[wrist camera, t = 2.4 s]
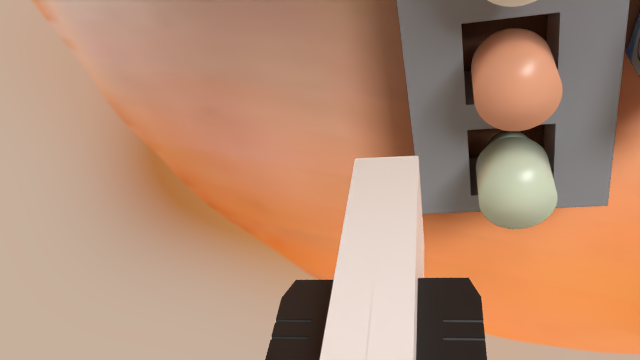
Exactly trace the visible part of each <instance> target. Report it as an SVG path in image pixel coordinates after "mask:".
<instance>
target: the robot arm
mask: <svg viewBox="0 0 640 360" xmlns="http://www.w3.org/2000/svg"><path fill="white" fill-rule="evenodd" d="M265 360H487V356H486V345H485V334H484V324H483V312H482V302H481V296H480V295H479V293H478V292H477V290H476V289H475V287H474V286H473V284H472V282H471V281H470V279H469V278H424V232H423V217H422V202H421V187H420V172H419V157H418V156H398V157H376V158H355V162H354V168H353V174H352V179H351V185H350V191H349V196H348V202H347V208H346V213H345V219H344V225H343V230H342V236H341V242H340V247H339V253H338V259H337V264H336V270H335V276H334V280H296V281H295V282H294V283H293V284H292V286H291V287H290V288H289V290H288V291H287V292H286V293H285V294H284V296H283V297H282V299H281V302H280V306H279V310H278V314H277V318H276V323H275V325H274V329H273V333H272V340H270V344H269V348H268V352H267V355H266V359H265Z"/></svg>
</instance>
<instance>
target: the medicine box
mask: <svg viewBox="0 0 640 360" xmlns="http://www.w3.org/2000/svg"><path fill="white" fill-rule="evenodd" d="M626 54H627V56H628V58H629V60H630V61H631V63H632V65H633V67H634V68H635V70H636V72H637V74H638V75H639V77H640V13H639V16H638V19H637V21H636V24H635V27H634V30H633V33H632V36H631V39H630V41H629V44H628V47H627V50H626Z"/></svg>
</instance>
